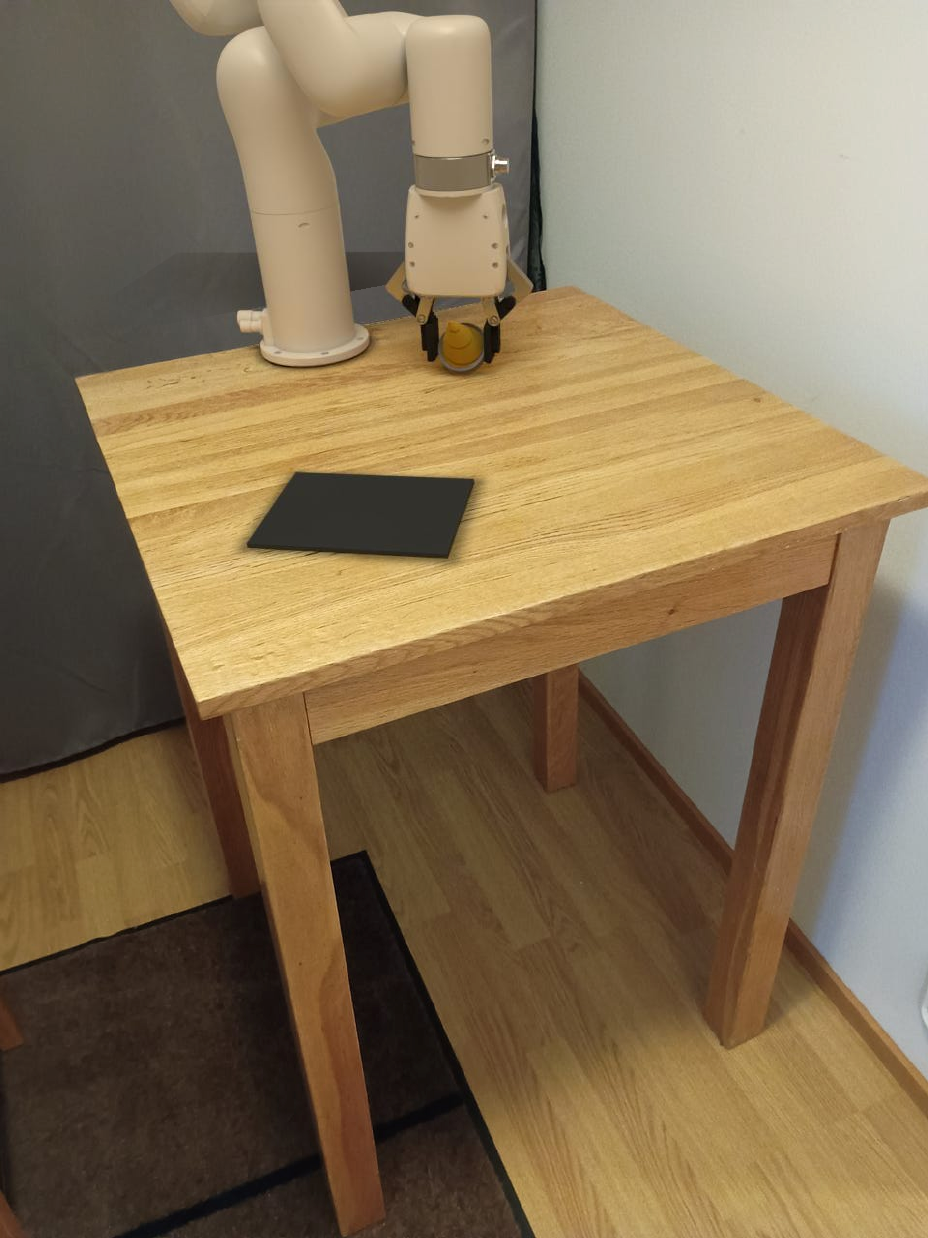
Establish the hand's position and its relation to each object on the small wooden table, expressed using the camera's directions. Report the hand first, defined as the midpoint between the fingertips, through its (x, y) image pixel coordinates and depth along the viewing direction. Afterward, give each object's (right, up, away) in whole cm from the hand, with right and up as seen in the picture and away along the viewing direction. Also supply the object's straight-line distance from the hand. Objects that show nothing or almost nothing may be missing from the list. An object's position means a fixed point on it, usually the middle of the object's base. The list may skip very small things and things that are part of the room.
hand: (461, 356), depth 98 cm
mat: (-8, -19, -22) cm, 30 cm away
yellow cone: (0, -2, +1) cm, 2 cm away
